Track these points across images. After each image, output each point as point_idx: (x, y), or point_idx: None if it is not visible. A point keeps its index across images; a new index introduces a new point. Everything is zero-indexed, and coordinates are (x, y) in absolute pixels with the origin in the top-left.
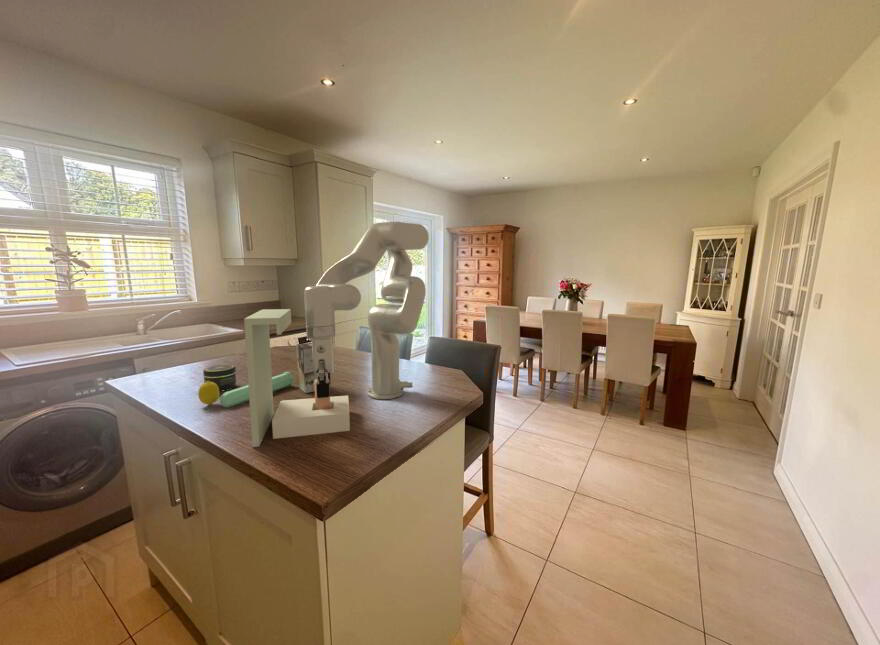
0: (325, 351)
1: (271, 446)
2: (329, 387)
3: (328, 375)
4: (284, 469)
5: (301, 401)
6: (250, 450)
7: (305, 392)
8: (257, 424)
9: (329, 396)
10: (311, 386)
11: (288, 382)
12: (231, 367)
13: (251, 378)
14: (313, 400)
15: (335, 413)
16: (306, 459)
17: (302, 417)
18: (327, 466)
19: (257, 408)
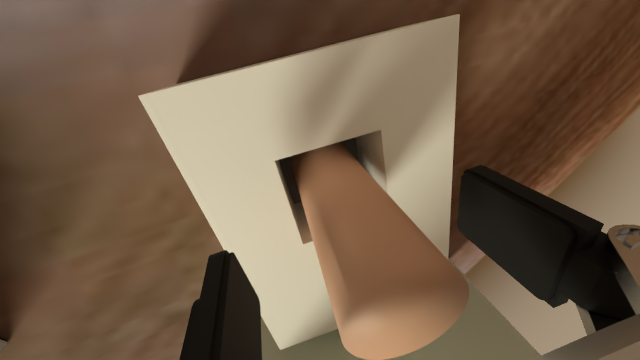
0: None
1: (450, 231)
2: (377, 218)
3: (227, 339)
4: (561, 158)
5: (284, 292)
6: (456, 259)
7: (4, 345)
8: (488, 301)
9: (360, 183)
10: None
11: None
12: None
13: None
14: (268, 257)
15: (445, 99)
16: (542, 124)
17: (449, 219)
18: (601, 53)
19: (525, 349)
